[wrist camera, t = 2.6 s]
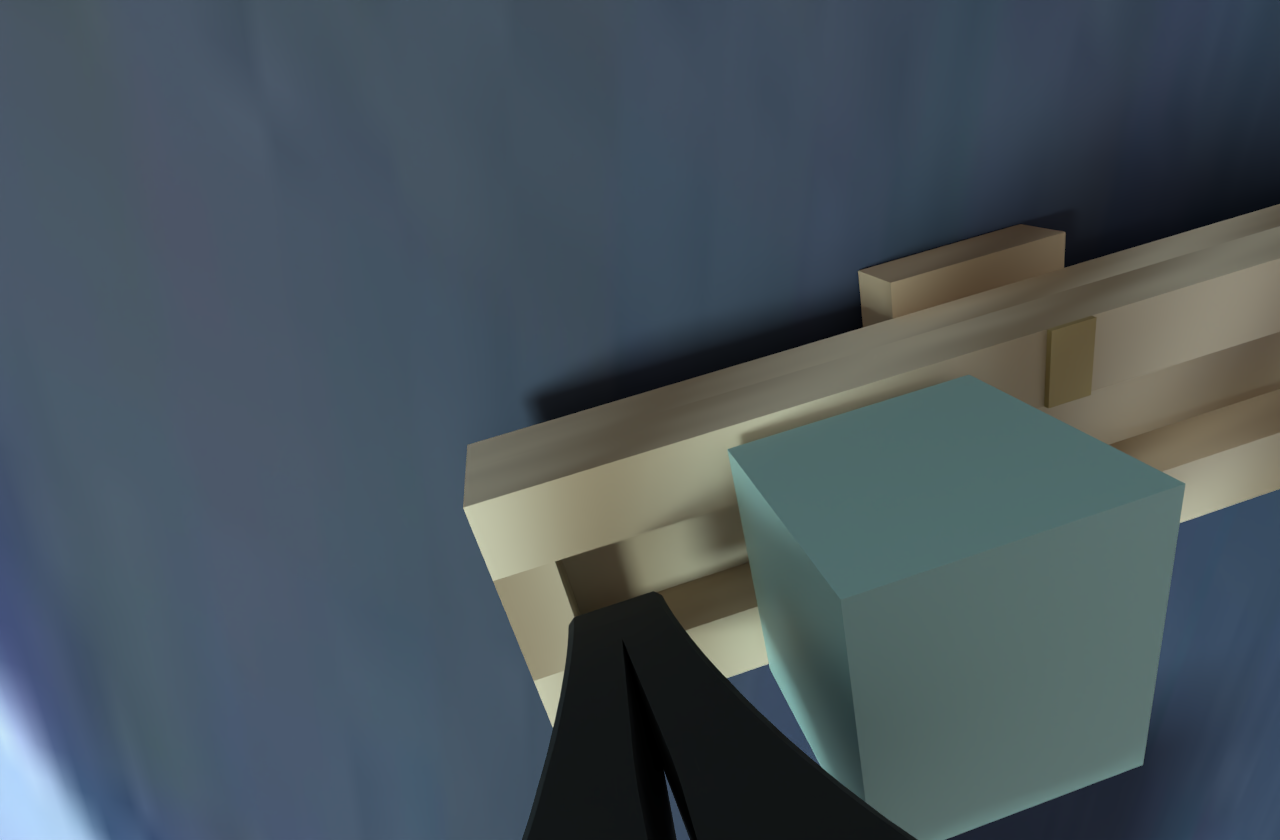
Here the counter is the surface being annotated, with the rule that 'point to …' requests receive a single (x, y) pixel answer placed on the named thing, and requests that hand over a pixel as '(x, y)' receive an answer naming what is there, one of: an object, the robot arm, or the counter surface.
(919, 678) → the block
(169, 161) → the counter surface
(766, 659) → the beam
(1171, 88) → the counter surface
